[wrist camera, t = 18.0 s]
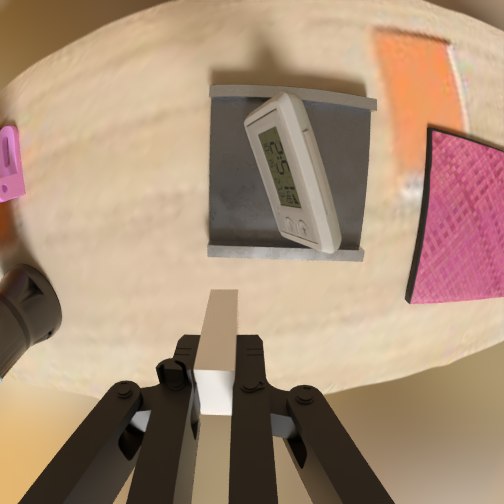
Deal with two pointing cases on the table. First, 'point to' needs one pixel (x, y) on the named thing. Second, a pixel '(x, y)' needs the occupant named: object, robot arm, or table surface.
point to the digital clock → (293, 172)
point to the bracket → (10, 165)
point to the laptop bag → (459, 223)
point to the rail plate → (251, 184)
